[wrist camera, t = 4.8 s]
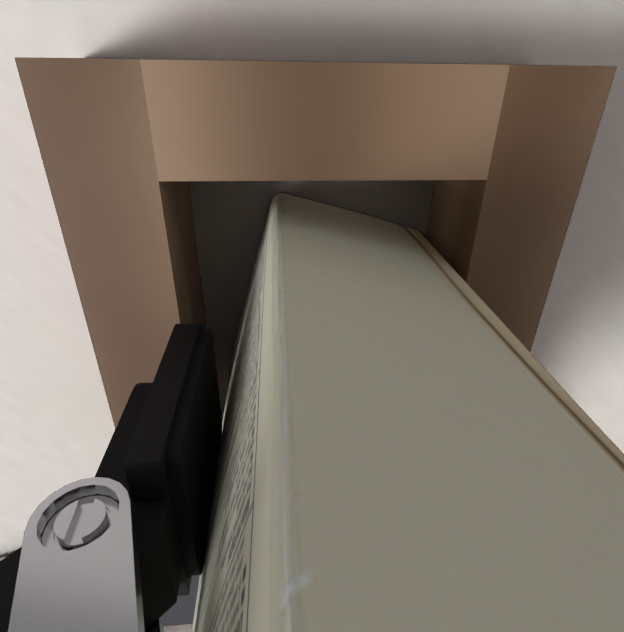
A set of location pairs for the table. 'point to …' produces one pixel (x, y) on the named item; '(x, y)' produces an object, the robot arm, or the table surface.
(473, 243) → the walnut holder
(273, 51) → the table surface
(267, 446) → the skincare box
